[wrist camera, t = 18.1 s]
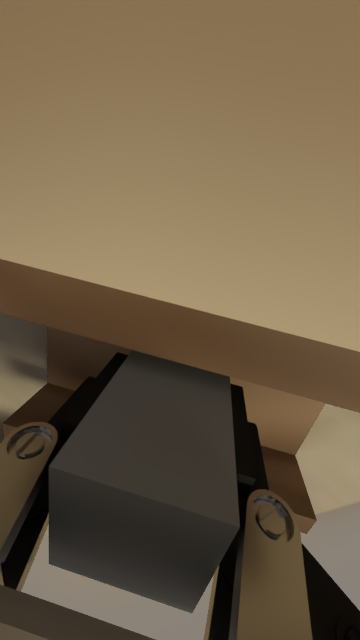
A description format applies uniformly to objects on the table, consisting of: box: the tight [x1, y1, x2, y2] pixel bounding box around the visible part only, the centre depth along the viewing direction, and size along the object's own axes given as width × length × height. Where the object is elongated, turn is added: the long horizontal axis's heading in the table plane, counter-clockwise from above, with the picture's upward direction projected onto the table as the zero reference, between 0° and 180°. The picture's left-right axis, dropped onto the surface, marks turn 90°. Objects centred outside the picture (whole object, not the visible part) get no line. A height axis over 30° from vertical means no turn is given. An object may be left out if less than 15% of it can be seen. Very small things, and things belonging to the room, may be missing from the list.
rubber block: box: [49, 350, 240, 613], centre depth 8 cm, size 4×4×6 cm
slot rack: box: [0, 259, 360, 534], centre depth 9 cm, size 16×14×4 cm
